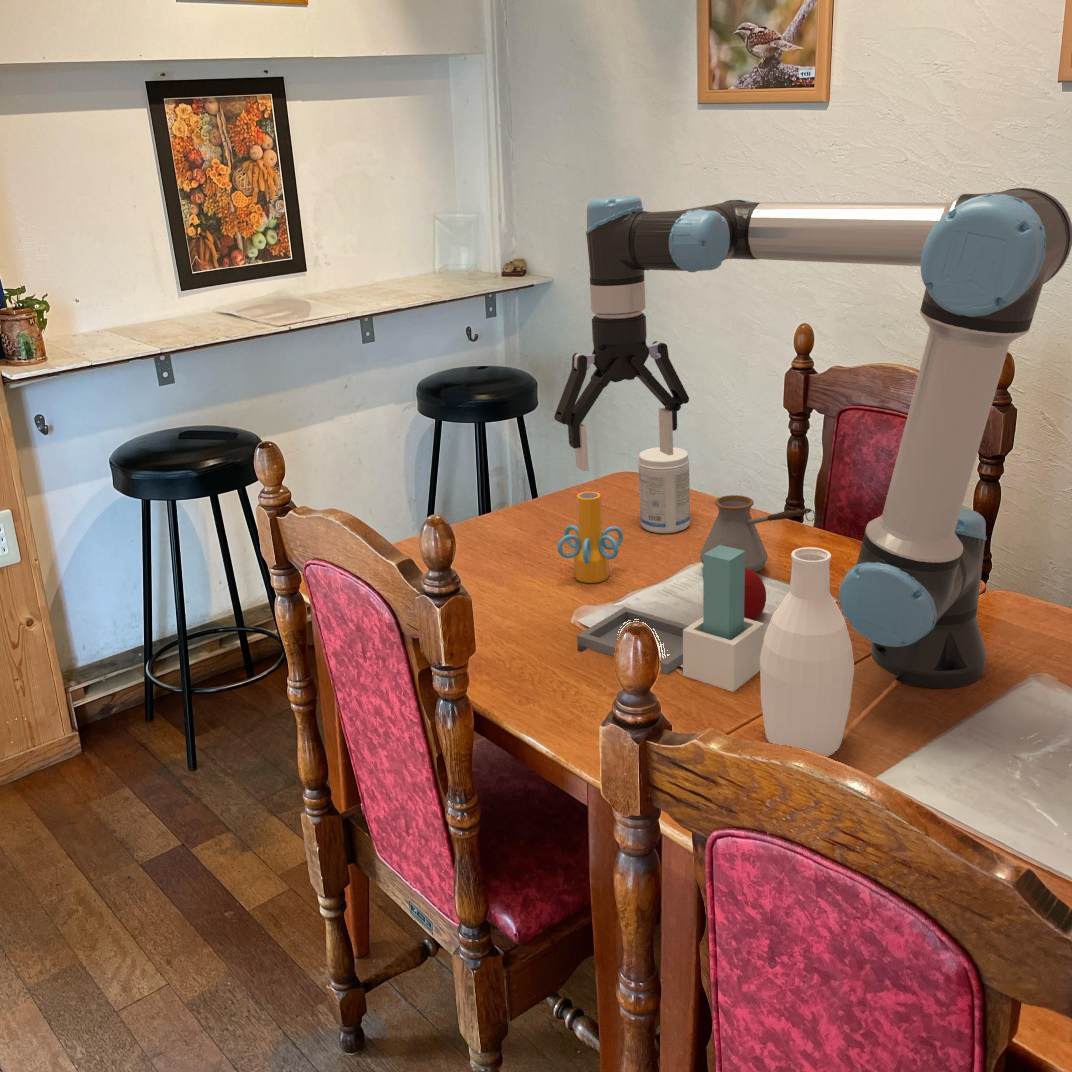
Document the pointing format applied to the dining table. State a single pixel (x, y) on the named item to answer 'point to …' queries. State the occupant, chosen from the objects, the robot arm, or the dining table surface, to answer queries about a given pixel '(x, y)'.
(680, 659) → the tray
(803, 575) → the bottle
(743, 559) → the peg
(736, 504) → the coffee pot
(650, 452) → the supplement tub
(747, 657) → the white open box
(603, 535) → the yellow ringed vase
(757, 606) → the apple
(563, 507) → the dining table surface
